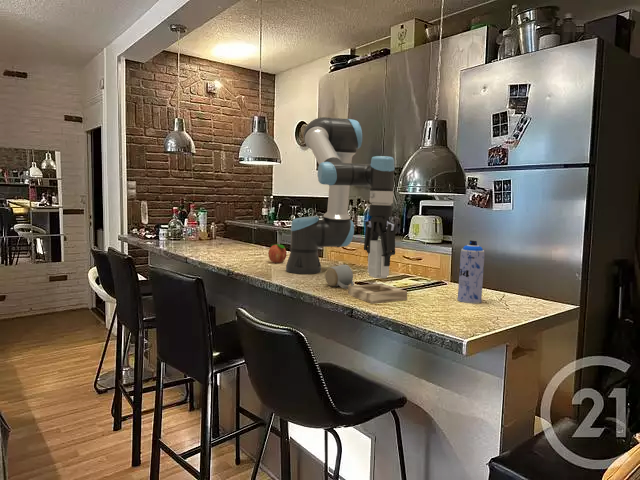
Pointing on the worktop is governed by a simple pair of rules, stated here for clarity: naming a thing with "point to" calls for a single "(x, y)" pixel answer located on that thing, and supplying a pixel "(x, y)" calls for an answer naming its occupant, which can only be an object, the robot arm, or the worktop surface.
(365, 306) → the worktop surface
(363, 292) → the socket block
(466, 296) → the aerosol can
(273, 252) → the fruit
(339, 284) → the ceramic mug
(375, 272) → the skincare box
